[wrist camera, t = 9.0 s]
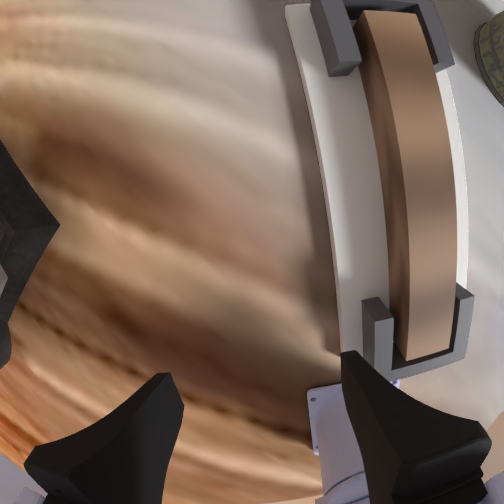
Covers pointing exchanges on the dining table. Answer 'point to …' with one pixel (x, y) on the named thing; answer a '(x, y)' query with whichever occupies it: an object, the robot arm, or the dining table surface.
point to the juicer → (18, 240)
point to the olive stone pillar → (491, 54)
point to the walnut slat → (412, 178)
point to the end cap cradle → (370, 177)
